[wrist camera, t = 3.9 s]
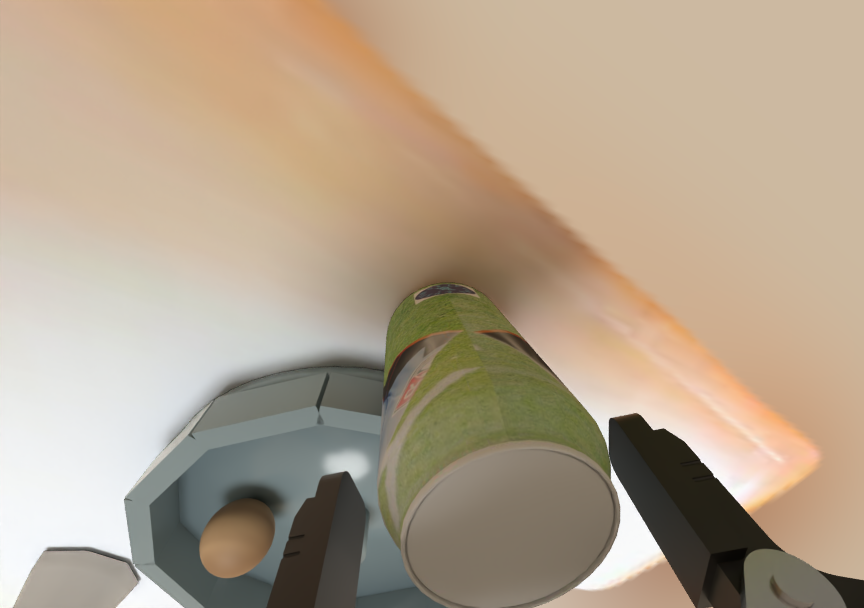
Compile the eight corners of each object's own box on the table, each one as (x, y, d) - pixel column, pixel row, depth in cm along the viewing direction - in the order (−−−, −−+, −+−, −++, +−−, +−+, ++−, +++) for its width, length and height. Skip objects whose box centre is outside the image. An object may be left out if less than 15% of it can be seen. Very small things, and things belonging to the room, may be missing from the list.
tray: (82, 418, 20) (21, 471, 17) (487, 324, 18) (503, 363, 15) (267, 609, 31) (250, 663, 27) (531, 558, 29) (545, 609, 26)
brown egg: (208, 491, 22) (168, 561, 18) (267, 478, 22) (239, 547, 18) (239, 527, 24) (208, 597, 20) (293, 515, 23) (272, 585, 20)
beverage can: (384, 369, 19) (353, 658, 9) (393, 244, 16) (360, 462, 6) (491, 375, 20) (584, 652, 9) (520, 257, 17) (711, 473, 6)
